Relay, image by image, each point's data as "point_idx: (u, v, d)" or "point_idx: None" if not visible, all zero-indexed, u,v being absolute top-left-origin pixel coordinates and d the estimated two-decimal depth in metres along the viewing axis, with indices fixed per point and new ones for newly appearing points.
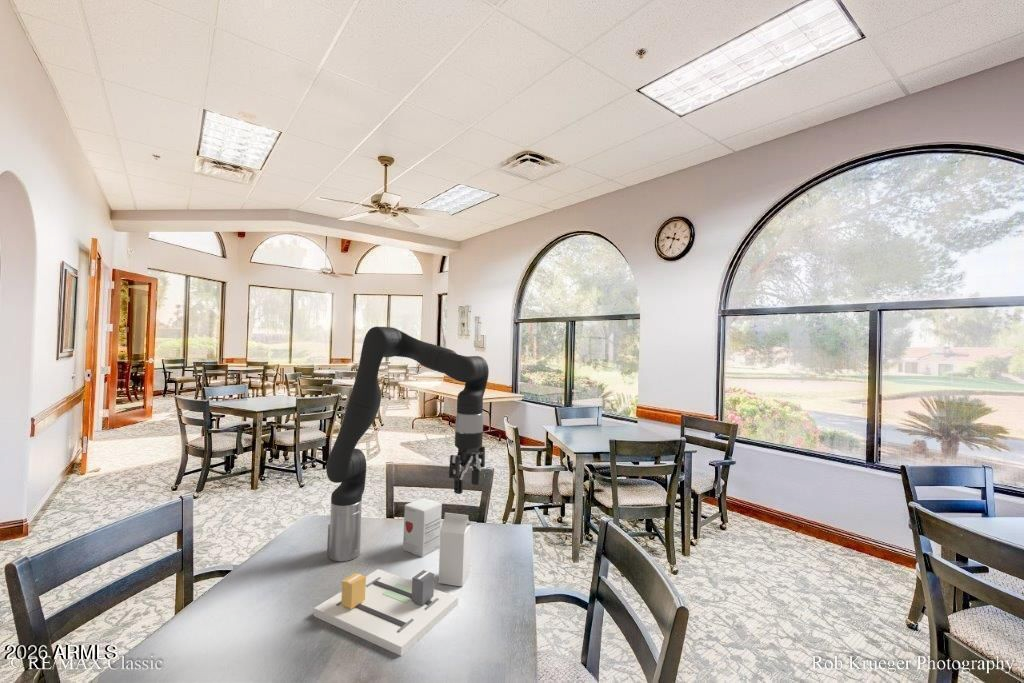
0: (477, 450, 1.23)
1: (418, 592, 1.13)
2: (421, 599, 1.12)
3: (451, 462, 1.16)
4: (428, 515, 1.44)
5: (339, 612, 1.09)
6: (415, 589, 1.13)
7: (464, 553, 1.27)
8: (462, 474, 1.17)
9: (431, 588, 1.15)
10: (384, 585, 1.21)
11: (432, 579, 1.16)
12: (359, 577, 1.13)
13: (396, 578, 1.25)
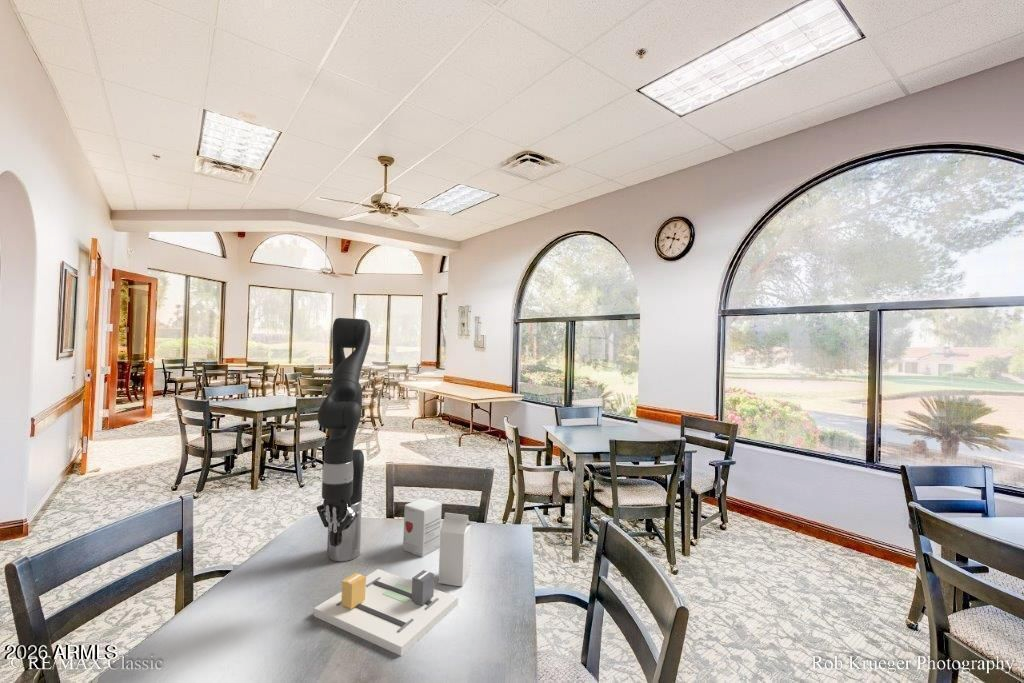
0: None
1: (418, 592, 1.13)
2: (421, 599, 1.12)
3: (349, 521, 1.13)
4: (428, 515, 1.44)
5: (339, 612, 1.09)
6: (415, 589, 1.13)
7: (464, 553, 1.27)
8: None
9: (431, 588, 1.15)
10: (384, 585, 1.21)
11: (432, 579, 1.16)
12: (359, 577, 1.13)
13: (396, 578, 1.25)
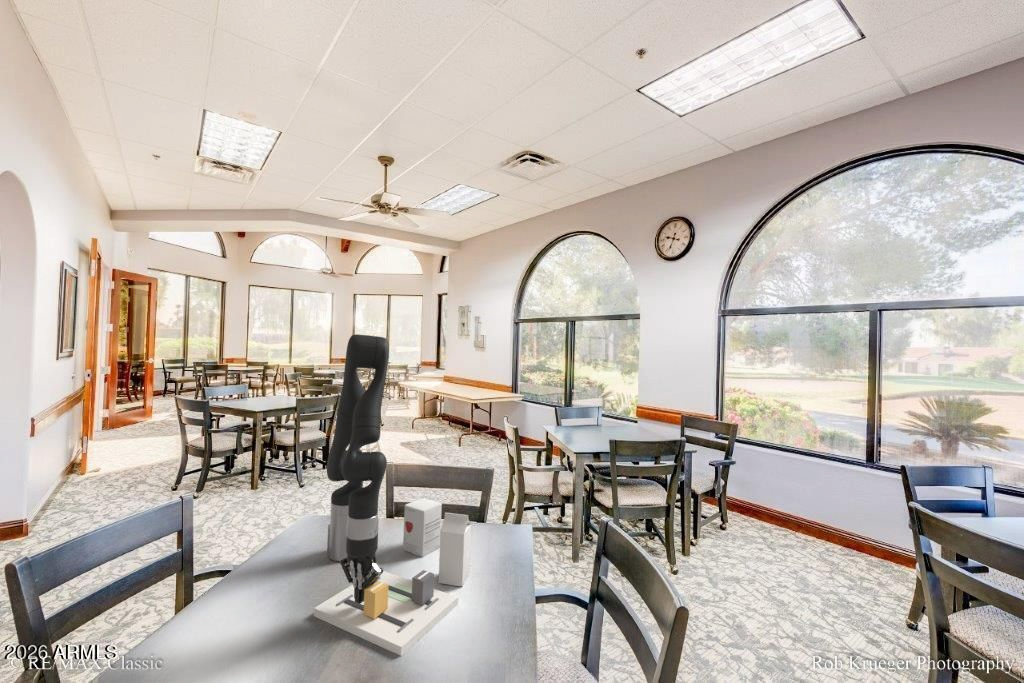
0: None
1: (418, 592, 1.13)
2: (421, 599, 1.12)
3: (374, 578, 1.08)
4: (428, 515, 1.44)
5: (339, 612, 1.09)
6: (415, 589, 1.13)
7: (464, 553, 1.27)
8: None
9: (431, 588, 1.15)
10: None
11: (432, 579, 1.16)
12: (382, 585, 1.10)
13: (396, 578, 1.25)
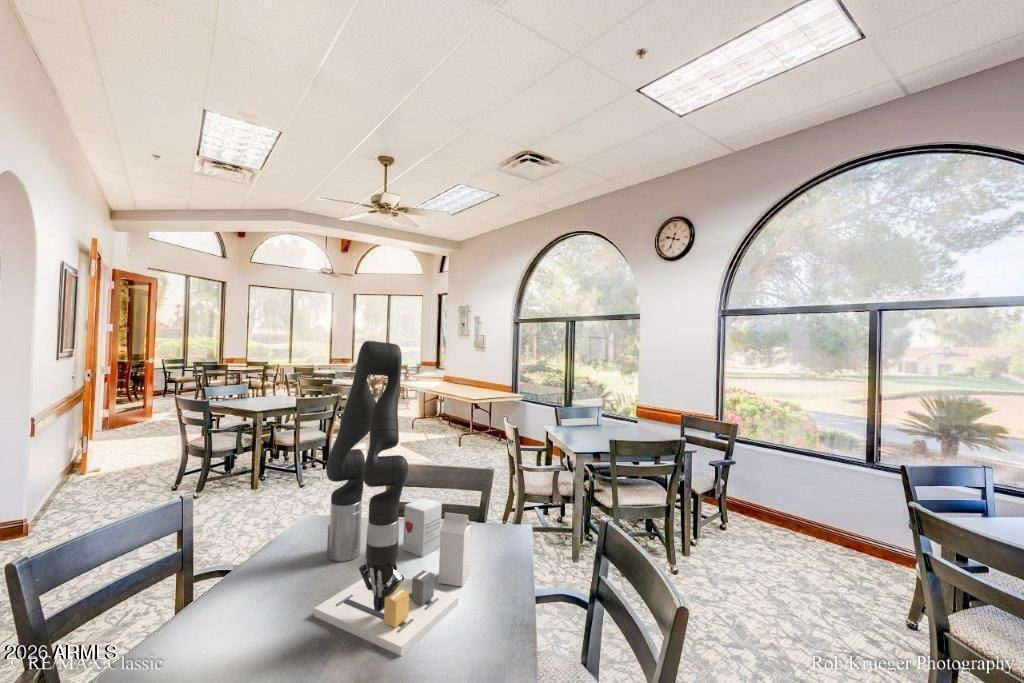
0: None
1: (418, 592, 1.13)
2: (421, 599, 1.12)
3: (395, 586, 1.05)
4: (428, 515, 1.44)
5: (339, 612, 1.09)
6: (415, 589, 1.13)
7: (464, 553, 1.27)
8: None
9: (431, 588, 1.15)
10: None
11: (432, 579, 1.16)
12: (402, 593, 1.07)
13: None
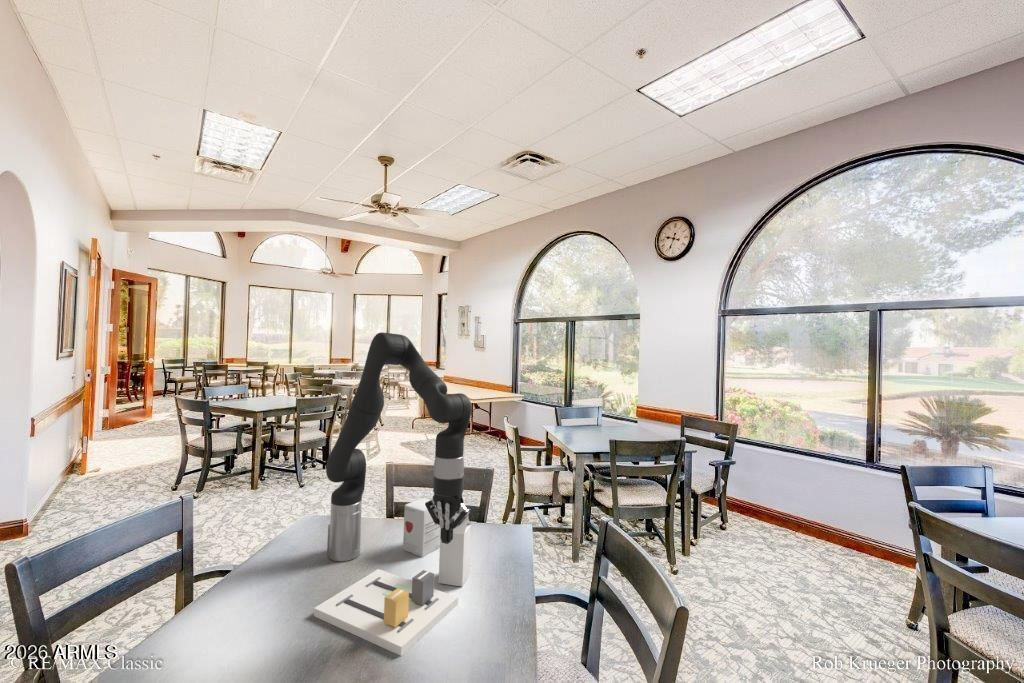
0: None
1: (418, 592, 1.13)
2: (421, 599, 1.12)
3: (463, 518, 1.09)
4: (428, 515, 1.44)
5: (339, 612, 1.09)
6: (415, 589, 1.13)
7: (464, 553, 1.27)
8: None
9: (431, 588, 1.15)
10: (384, 585, 1.21)
11: (432, 579, 1.16)
12: (402, 593, 1.07)
13: (396, 578, 1.25)
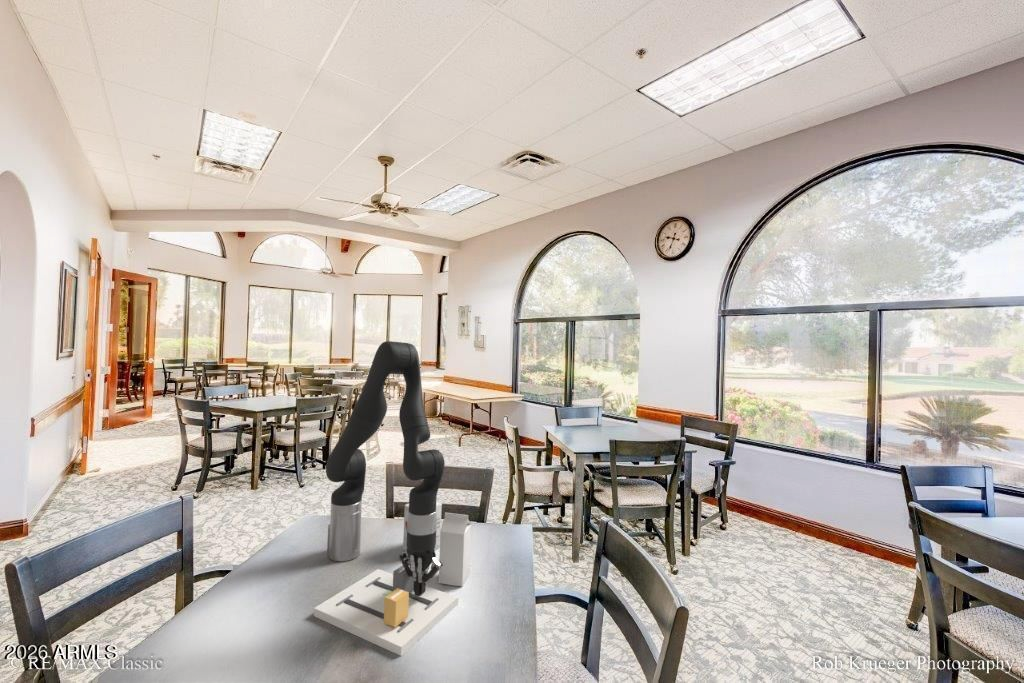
0: None
1: (399, 585, 1.16)
2: None
3: None
4: None
5: (339, 612, 1.09)
6: (396, 582, 1.16)
7: (464, 553, 1.27)
8: None
9: (412, 581, 1.18)
10: (384, 585, 1.21)
11: None
12: (402, 593, 1.07)
13: None
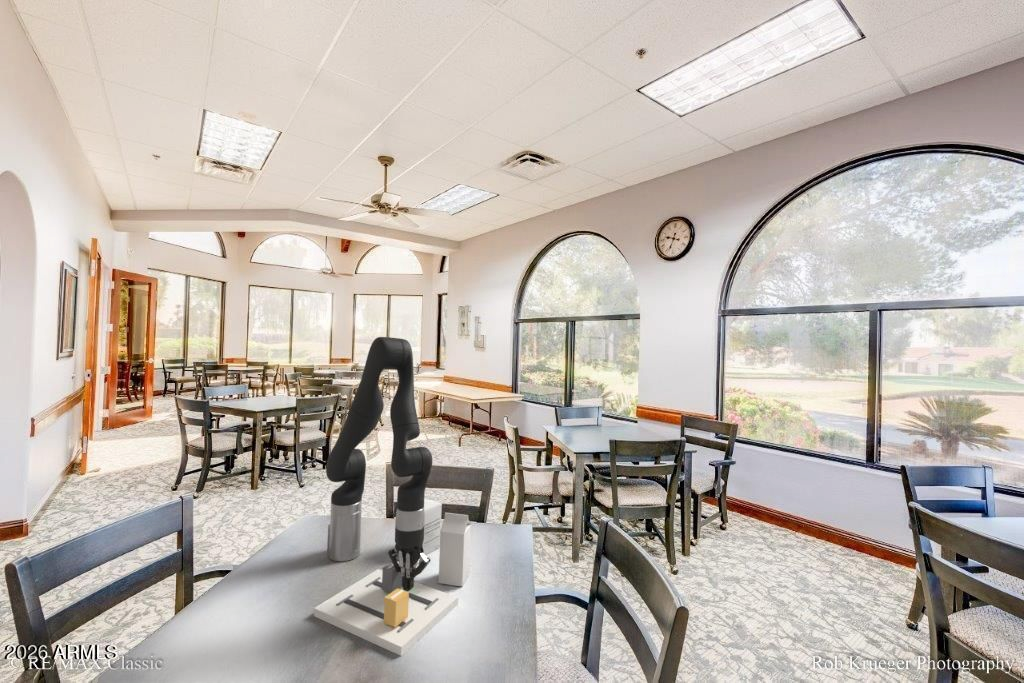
0: None
1: (388, 581, 1.18)
2: (391, 588, 1.17)
3: (422, 567, 1.14)
4: (428, 515, 1.44)
5: (339, 612, 1.09)
6: (385, 578, 1.18)
7: (464, 553, 1.27)
8: None
9: (401, 577, 1.20)
10: None
11: None
12: (402, 593, 1.07)
13: None
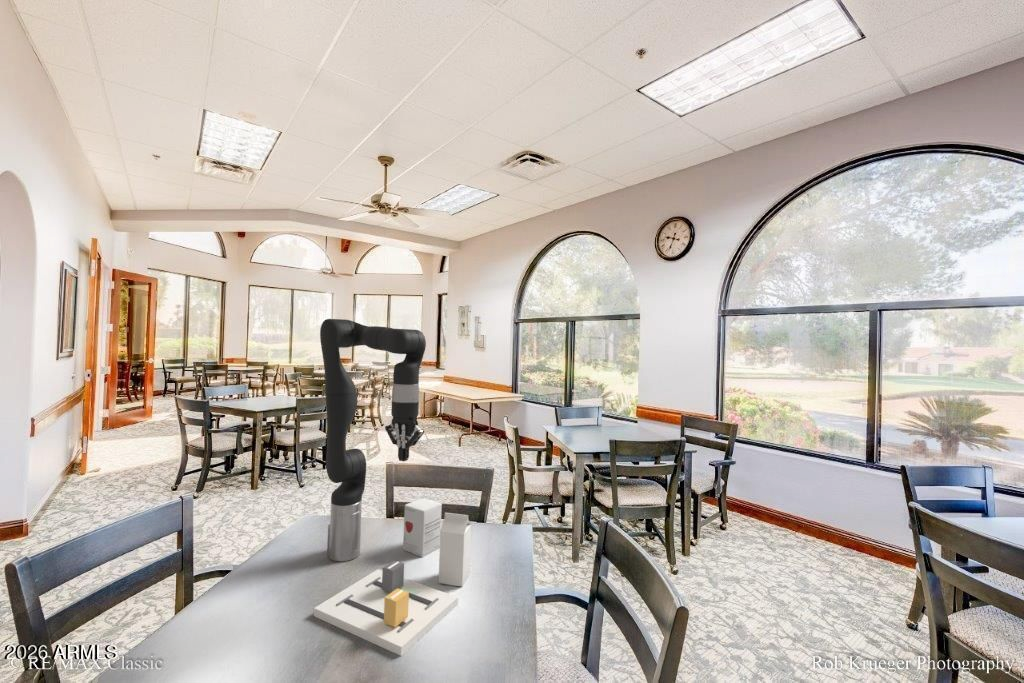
0: None
1: (388, 581, 1.18)
2: (391, 588, 1.17)
3: (417, 437, 1.23)
4: (428, 515, 1.44)
5: (339, 612, 1.09)
6: (385, 578, 1.18)
7: (464, 553, 1.27)
8: None
9: (401, 577, 1.20)
10: None
11: (402, 569, 1.20)
12: (402, 593, 1.07)
13: None
